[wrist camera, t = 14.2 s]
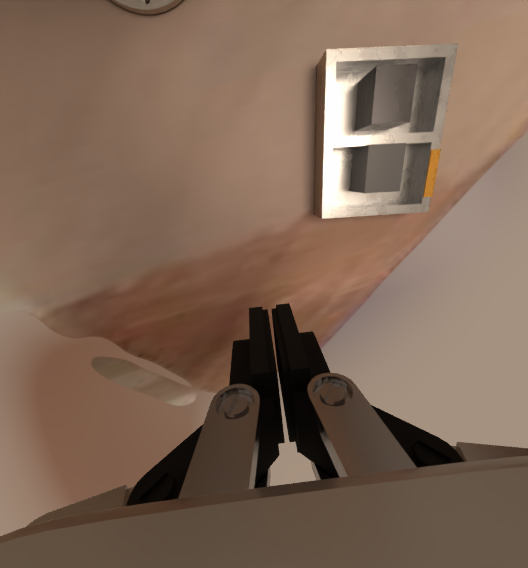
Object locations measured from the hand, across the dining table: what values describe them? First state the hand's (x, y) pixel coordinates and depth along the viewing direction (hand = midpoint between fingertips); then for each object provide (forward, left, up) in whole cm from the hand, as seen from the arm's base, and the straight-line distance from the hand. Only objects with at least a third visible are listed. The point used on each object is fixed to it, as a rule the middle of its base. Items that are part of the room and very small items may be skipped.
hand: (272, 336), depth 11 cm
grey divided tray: (-9, +14, -26) cm, 31 cm away
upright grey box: (-6, +14, -25) cm, 30 cm away
